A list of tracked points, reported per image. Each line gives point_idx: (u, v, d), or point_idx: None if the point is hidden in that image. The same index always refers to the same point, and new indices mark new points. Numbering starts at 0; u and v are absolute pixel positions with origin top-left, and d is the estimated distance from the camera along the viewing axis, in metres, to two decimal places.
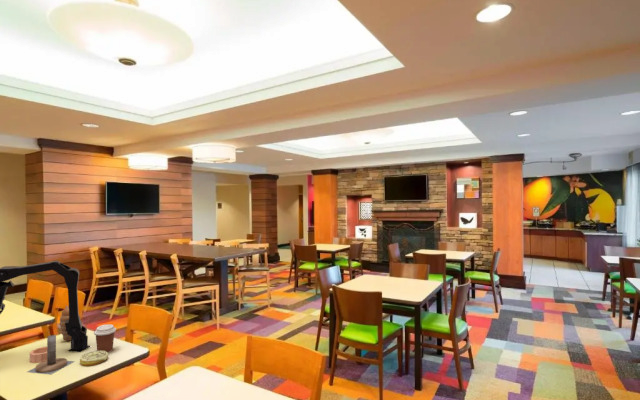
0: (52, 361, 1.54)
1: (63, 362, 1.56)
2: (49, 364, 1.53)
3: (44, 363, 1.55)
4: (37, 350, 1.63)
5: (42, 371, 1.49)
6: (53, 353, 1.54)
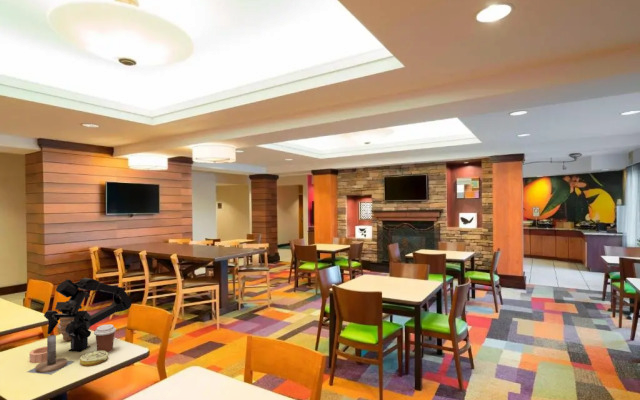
0: (52, 361, 1.54)
1: (63, 362, 1.56)
2: (49, 364, 1.53)
3: (44, 363, 1.55)
4: (37, 350, 1.63)
5: (42, 371, 1.49)
6: (52, 353, 1.54)
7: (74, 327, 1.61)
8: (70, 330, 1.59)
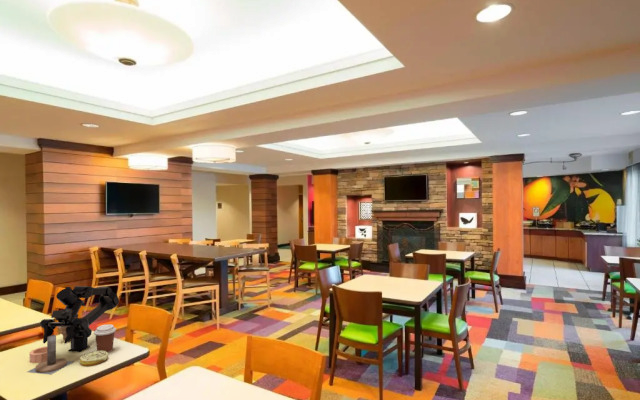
0: (52, 361, 1.54)
1: (63, 362, 1.56)
2: (49, 364, 1.53)
3: (44, 363, 1.55)
4: (37, 350, 1.63)
5: (42, 371, 1.49)
6: (53, 353, 1.54)
7: (70, 336, 1.58)
8: (66, 339, 1.57)
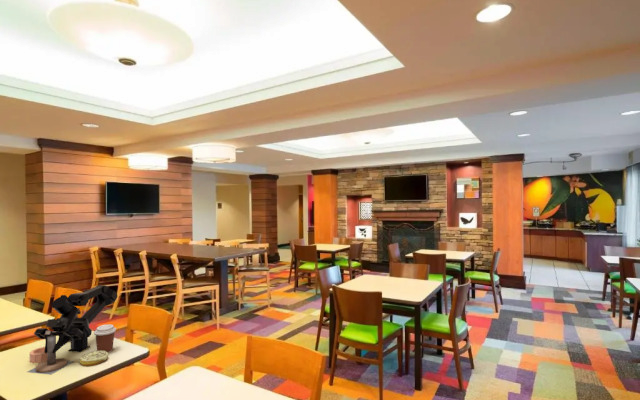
0: (52, 361, 1.54)
1: (63, 362, 1.56)
2: (49, 364, 1.53)
3: (44, 363, 1.55)
4: (37, 350, 1.63)
5: (42, 371, 1.49)
6: (53, 353, 1.54)
7: (59, 346, 1.55)
8: (54, 349, 1.53)
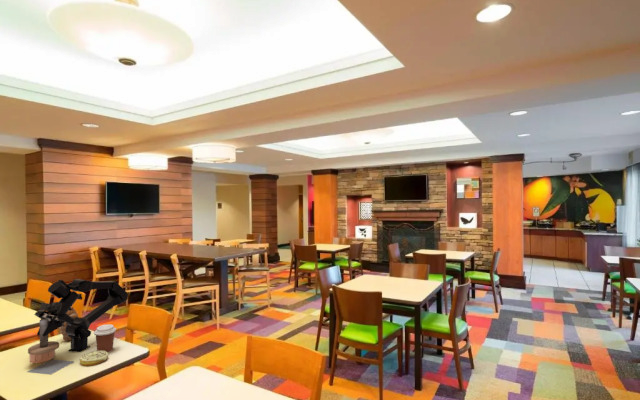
0: (43, 344, 1.56)
1: (53, 346, 1.57)
2: (40, 346, 1.56)
3: (39, 345, 1.59)
4: None
5: (30, 353, 1.52)
6: (43, 336, 1.56)
7: (49, 329, 1.57)
8: (44, 332, 1.55)
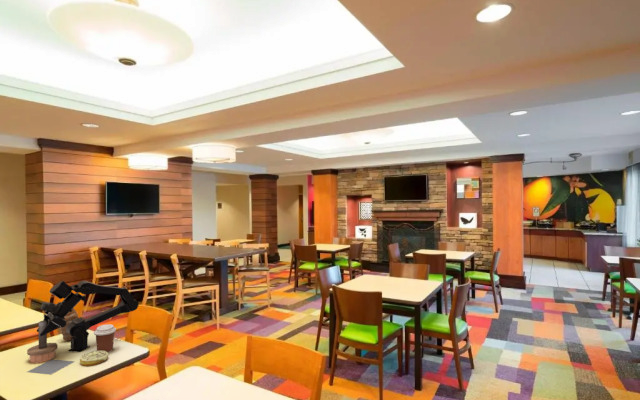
0: (40, 345, 1.61)
1: (48, 349, 1.60)
2: (38, 347, 1.61)
3: None
4: None
5: (27, 353, 1.58)
6: (40, 337, 1.61)
7: (46, 330, 1.60)
8: (41, 332, 1.59)
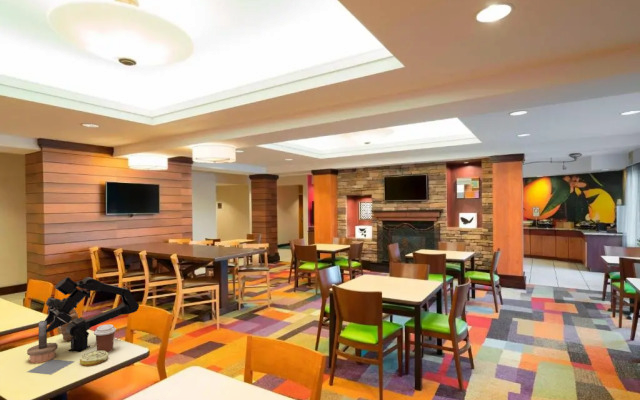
0: (40, 345, 1.61)
1: (48, 349, 1.60)
2: (38, 347, 1.61)
3: None
4: None
5: (27, 353, 1.58)
6: (40, 337, 1.61)
7: (52, 326, 1.60)
8: (47, 328, 1.59)
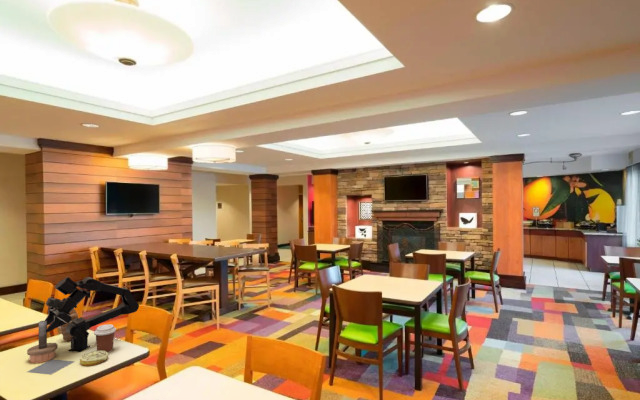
0: (40, 345, 1.61)
1: (48, 349, 1.60)
2: (38, 347, 1.61)
3: None
4: None
5: (27, 353, 1.58)
6: (40, 337, 1.61)
7: (52, 326, 1.60)
8: (47, 328, 1.59)
